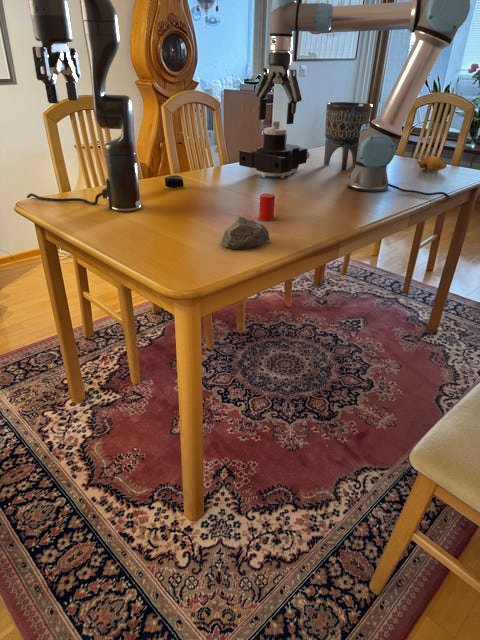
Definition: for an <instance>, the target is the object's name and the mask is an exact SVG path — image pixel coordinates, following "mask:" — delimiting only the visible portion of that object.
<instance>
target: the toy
mask: <svg viewBox="0 0 480 640" xmlns="http://www.w3.org/2000/svg"><path fill="white" fill-rule="evenodd" d="M417 164H419V165H418V166H419V168H421V169H425V170H429V171H430V172H439V171H442V170H444V169H446V168H447V165H448V164H446V163H445V162H442V159H440V158H439V157H437V156H429V157H424V158H422V159H421V160H420V161H417Z"/></svg>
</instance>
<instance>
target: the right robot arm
mask: <svg viewBox="0 0 480 640" xmlns="http://www.w3.org/2000/svg"><path fill="white" fill-rule="evenodd" d="M470 10H471V0H411V1H398V2H396V1H395V2H382V3H368V4H365V3H364V4H348V5H334V6H333V5H332V4H331V3H326V2H314V3H313V2H311V3H310V2H308V3H306V2H305V3H302V2H301V3H300V2H297V0H271V9H270V23H269V42H268V43H269V45H268V50H269V53H268V59H267V65H268V66H269V67H262V68H261V75H260V77H259V80H258V83H257V86H256V89H255V91H254V94H253V95H254V97H255V98H257V99H258V106H257V108H258V120H259V121H260V120H266V117H267V116H266V115H267V98H266V97H267V95H268V94H269V93H270V91H271V90H272V87H273V86H274V85H275V84H278V85H281V86H282V88H283V90H284V92H285V94H286V96H287V99H288V101H289V102H287V111H286V125H292V124H294V119H295V114H296V112H297V103H299V102H302V100H303V98H302V93H301V90H300V85H299V82H298V78H297V73H298V71H297V69H292V68H291V69H290V66H291V63H292V53H291V52H292V51H293V38H294V37H293V36H294V32H305V33H306V32H307V33H310V34H311V35H320V34H332V33H333V34H335V33H356V32H374V31H375V32H376V31H377V32H378V31H396V30H397V31H398V30H399V31H400V30H407V31H408V32H409V33H410V34H411V33H414V37H415V41H414V42H413V44H412V46H411V49H410V51H409V52H408V55H407V57H406V59H405V60H404V63H403V65H402V67H401V69H400V71H399V74H398V76H397V78H396V80H395V82H394V84H393V86H392V88H391V90H390V92H389V93H388V96H387V98H386V101H385V102H384V104H383V106H382V108H381V111H380V113H379V115H378V116H377V118H375V119H372V120H370V121H371V122H369V124H363V125H362V126H361V130H360V137H359V144H358V151H357V158H356V165H355V166H354V167H353V171H351V174H350V175H348V180H347V181H348V182H347V187H348V188H349V189H351V190H354V191H358V192H363V193H364V192H365V193H382V192H386V191H388V189H389V187H390V188H393V189H395V190H398V191H400V192H404V193H413V194H419V195H423V196H437V195H442V196H445V197H446V198H448V199H450V198H451V196H450V195H449V194H448V193H446V192H445V191H436V192H426V191H425V192H424V191H420V190H416V189H405V188H402V187H399V186H397V185H394V184H392V183H389V178H388V173H387V172H388V171H387V166H388V165H390V163H391V162H392V161H393V159H394V158H395V154H396V149H397V147H398V145H399V143H400V142H401V139H402V137H403V136H404V133H403V129H402V128H403V126H404V124H405V121H406V120H407V118H408V116H409V114H410V112H411V110H412V108H413V107H414V104H415V103H416V101H417V99H418V97H419V95H420V93H421V91H422V89H423V87H424V85H425V83H426V82H427V79H428V78H429V75H430V73H431V72H432V70H433V68H434V66H435V64H436V62H437V60H438V58H439V56H440V54H441V52H442V51H443V50H444V49H446V48H448V47H450V45H451V44H452V42H453V40H454V38H455V36H456V35H457V32H458V30H459V28H461V27H462V25H464V24H465V22H466V20H467V19H468V16H469V14H470Z"/></svg>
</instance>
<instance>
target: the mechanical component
mask: <svg viewBox="0 0 480 640" xmlns="http://www.w3.org/2000/svg"><path fill="white" fill-rule="evenodd" d="M287 138H288V129H287V128H286V127H280V121H279V120H272V126H271V127H265V128H264V129H263V145H262V146H258V147H257V148H256V151H250V150H245V149H241V150H239V153H238V154H239V155H238V157H239V159H238V166H240V167H245V168H250V169H255V173H256V174H257V175H261V177H262V178H267V177H279V178H280V179H285V176H291V175H292V173H298V171H299V167H300V165H303V164H304V165H305V164H307V160H309V158H310V156H311V154H310V152H309V151H308V148H304V147H301V146H299V145H297V144H290V143H287Z"/></svg>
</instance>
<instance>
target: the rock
mask: <svg viewBox="0 0 480 640" xmlns="http://www.w3.org/2000/svg"><path fill="white" fill-rule="evenodd" d="M269 241H270V233H269V230H268V229H267V228H266V226H265V225H263V224H261V223H259V222H256V221H255V220H252V219H247V218H245V217H241V216H238V217H237V218H236V219H235V221H234V222H233V223H232V224H231V225H229V226H228V227H227V228H226V229H225V231H224V233H223V236H222V239H221V244H222V247H224V248H229V249H231V250H245V249H254V248H257V247H259V246H260V245H264V244H266V242H269Z"/></svg>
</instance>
